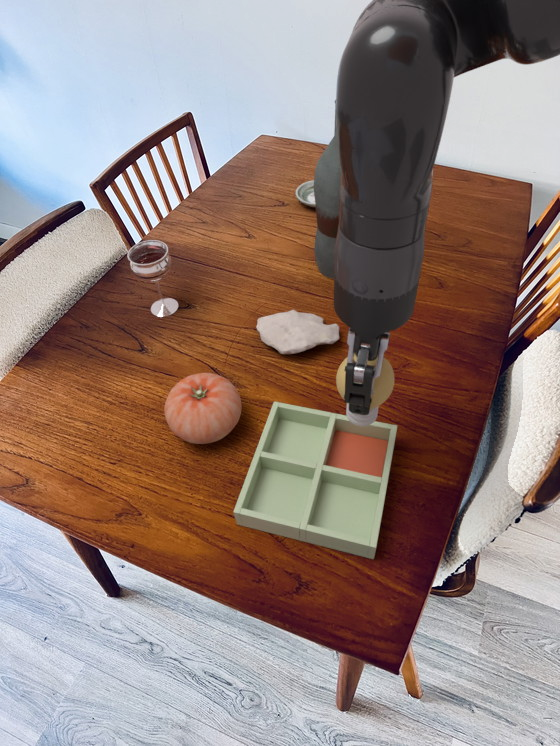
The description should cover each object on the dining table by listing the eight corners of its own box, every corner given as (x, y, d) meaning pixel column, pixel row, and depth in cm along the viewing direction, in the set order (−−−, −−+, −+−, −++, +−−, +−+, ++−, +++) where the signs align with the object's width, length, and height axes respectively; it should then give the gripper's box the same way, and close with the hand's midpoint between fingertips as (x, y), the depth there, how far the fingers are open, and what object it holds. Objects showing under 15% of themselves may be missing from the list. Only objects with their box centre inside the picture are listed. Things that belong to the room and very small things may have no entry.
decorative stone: (349, 328, 88) (269, 314, 93) (349, 309, 85) (267, 296, 91) (327, 367, 80) (241, 349, 86) (326, 347, 78) (238, 330, 83)
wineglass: (189, 310, 93) (175, 255, 83) (154, 325, 90) (135, 270, 81) (174, 289, 96) (158, 234, 87) (140, 304, 94) (120, 249, 85)
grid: (394, 440, 73) (397, 425, 70) (373, 559, 62) (376, 547, 59) (275, 415, 76) (273, 401, 74) (236, 524, 66) (233, 511, 63)
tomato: (203, 384, 81) (194, 349, 75) (259, 414, 77) (254, 380, 71) (155, 432, 76) (141, 399, 70) (212, 468, 71) (202, 436, 65)
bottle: (307, 257, 100) (303, 93, 78) (351, 246, 102) (359, 82, 79) (324, 286, 95) (326, 118, 72) (371, 274, 96) (386, 106, 73)
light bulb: (346, 389, 66) (349, 333, 58) (395, 405, 64) (405, 349, 56) (326, 427, 62) (327, 373, 54) (378, 445, 60) (386, 392, 52)
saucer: (290, 211, 111) (290, 200, 109) (302, 187, 117) (302, 177, 115) (334, 216, 109) (334, 205, 107) (344, 192, 115) (344, 181, 113)
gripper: (410, 331, 41) (388, 446, 53) (428, 226, 49) (406, 347, 62) (316, 317, 42) (317, 432, 55) (350, 218, 51) (344, 337, 64)
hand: (364, 386), depth 58 cm, fingers closed on light bulb, 6 cm apart
